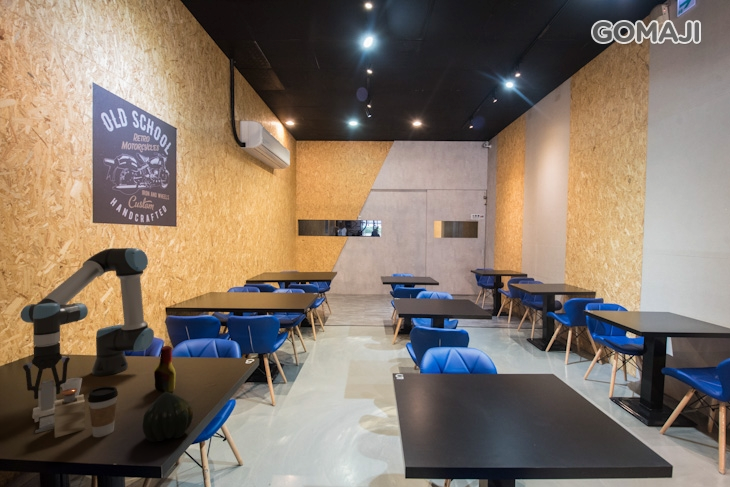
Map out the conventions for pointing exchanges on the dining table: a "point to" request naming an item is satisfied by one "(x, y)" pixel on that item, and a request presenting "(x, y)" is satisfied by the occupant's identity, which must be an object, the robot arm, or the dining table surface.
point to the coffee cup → (102, 410)
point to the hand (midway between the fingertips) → (47, 404)
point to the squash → (167, 417)
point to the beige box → (69, 416)
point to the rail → (46, 423)
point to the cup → (72, 385)
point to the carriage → (45, 401)
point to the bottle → (165, 371)
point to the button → (69, 395)
